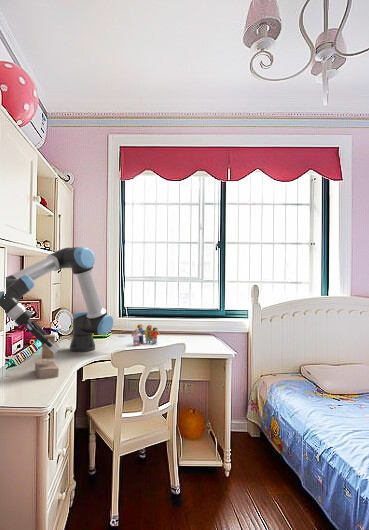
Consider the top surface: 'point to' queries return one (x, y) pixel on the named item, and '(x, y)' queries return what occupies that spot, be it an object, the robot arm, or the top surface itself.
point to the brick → (46, 369)
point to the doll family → (150, 335)
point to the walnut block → (45, 350)
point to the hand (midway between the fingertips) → (57, 350)
